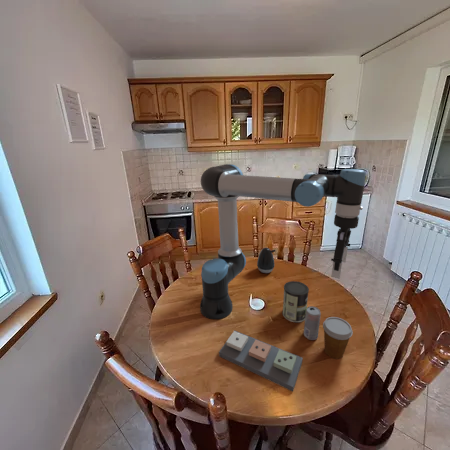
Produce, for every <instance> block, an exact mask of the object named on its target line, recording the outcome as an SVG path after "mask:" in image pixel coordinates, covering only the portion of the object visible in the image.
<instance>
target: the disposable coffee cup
mask: <svg viewBox="0 0 450 450" xmlns="http://www.w3.org/2000/svg"><path fill="white" fill-rule="evenodd" d="M322 329H323V334H324V335H323V337H324V339H323V343H324V344H323V345H324V352H325V354H326V355H328V357H330V358H332V359H336V360H339V359H342V358H343V356H344V354H345V352H346V349H347V346H348V343H349V341H350V339H351V337H352V336H353V334H354V333H353V329H352V326H351V324H350V323H349V322H348V321H347V320H346V319H345V320H344V318H340V317H337V316H330V317H327V318H325V320H324V321H323V323H322Z"/></svg>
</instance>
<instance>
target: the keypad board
mask: <svg viewBox="0 0 450 450" xmlns="http://www.w3.org/2000/svg"><path fill="white" fill-rule="evenodd" d="M234 331H236V332H238V333H241V334H243V335H245V336H248V341H247V343H246V344H245V346H244V348H243V349H242V351H239V350H236V349H234V348H232V347H230V346H227V345H226V342H225V343H224V344H223V345H222V347H221V348H220V349H219V351H218V356H219V357H220V358H222V359H224V360H226V361H228V362H230V363H232V364H233V365H237V366H239V367H241V368H243V369H244V370H247V371H248V372H250V373H253V374H255V375H258V376H260V377H261V378H264V379H265V380H268V381H269V382H272V383H274V384H276V385H278V386H280V387H283V388H284V389H285V390H289V391H290V392H294V390H295V386H296V383H297V380H298V378H299V377H298V376H299V374H300V371H301V368H302V364H303V357H302V356H299V355H298V354H294V353H291V352H290V351H287V350H284V349H282V348H279V347H276V346H275V345H271V344H269V343H268V342H264V341H262V340H259V339H257V338H254V337H252V336H249V335H247V334H244V333H242V332H241V331H240V332H239V331H237V330H233V332H234ZM231 335H232V333H231V334H230V336H231ZM255 340H258V341H260V342H263V343H265V344H268V345H270V346H271V351H270V353H269V355H268V357H267V359H266V361H265V362H263V361H261V360H259V359H257V358H254V357H252V356H250V355H249V350H250V348H251V347H252V345H253V343H254V342H255ZM279 349H280V350H282V351H285V352H287V353H290V354H292V355H295V356H297V358H296V362H295V365H294V368H293V371H292V374H290V373H288V372H286V371H283V370H281V369H279V368H277V367H274V366H273V364H274V360H275V358H276V356H277V354H278V351H279Z"/></svg>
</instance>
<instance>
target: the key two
mask: <svg viewBox="0 0 450 450" xmlns="http://www.w3.org/2000/svg"><path fill="white" fill-rule="evenodd" d="M258 340H259V339H257V340H255V342H254V343H253V345H252V347H251V348H250V350H249V355H250V356H252V357H254V358H257V359H259V360H261V361H263V362H265V361H266V359H267V357H268V355H269V353H270V351H271V346H270V345H271V344H270V345H268V344H269V343H267V344H265V343H266V342H265V343H263V342H264V341H262V342H260V341H261V340H260V341H258Z"/></svg>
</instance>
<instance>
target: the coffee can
mask: <svg viewBox="0 0 450 450" xmlns="http://www.w3.org/2000/svg"><path fill="white" fill-rule="evenodd" d="M309 292H310V289H309V286H308V285H307V284H305V283H304V282H300V281H296V280H295V281H294V280H291V281H287V282H285V283H284V285H283V303H282V304H283V305H282V316H283V317H284V319H286V320H287V321H289V322H291V323H292V322H293V323H302V322H305V315H306V309H307V308H308V299H309Z"/></svg>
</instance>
